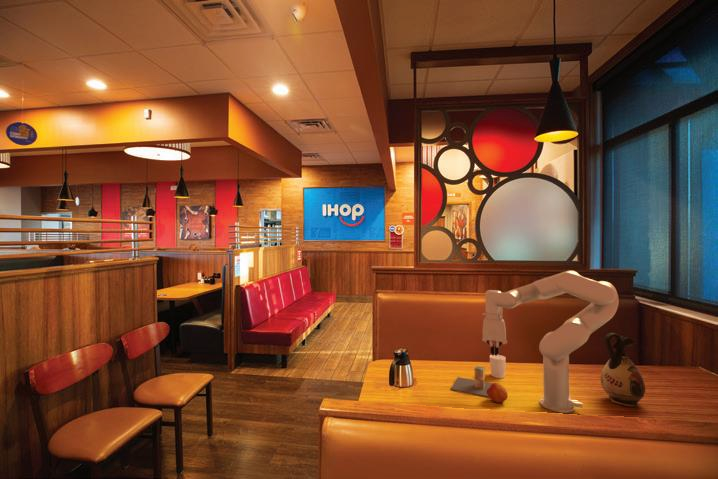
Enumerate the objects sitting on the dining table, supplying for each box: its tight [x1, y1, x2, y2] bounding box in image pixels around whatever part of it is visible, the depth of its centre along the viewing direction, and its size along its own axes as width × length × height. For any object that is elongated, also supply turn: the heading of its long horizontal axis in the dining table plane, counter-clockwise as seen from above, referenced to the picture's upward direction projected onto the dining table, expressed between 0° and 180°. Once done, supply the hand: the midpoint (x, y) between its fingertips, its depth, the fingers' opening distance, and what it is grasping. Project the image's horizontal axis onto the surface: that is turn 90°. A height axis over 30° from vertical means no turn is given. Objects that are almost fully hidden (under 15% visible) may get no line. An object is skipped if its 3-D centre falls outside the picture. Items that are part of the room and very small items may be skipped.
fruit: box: [487, 382, 508, 404], centre depth 148 cm, size 8×8×8 cm
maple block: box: [474, 365, 486, 389], centre depth 162 cm, size 4×4×9 cm
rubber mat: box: [450, 376, 494, 399], centre depth 162 cm, size 18×16×1 cm
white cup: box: [489, 354, 507, 379], centre depth 176 cm, size 8×8×10 cm
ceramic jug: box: [600, 332, 646, 408], centre depth 147 cm, size 17×15×30 cm
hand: (494, 354), depth 158 cm, fingers closed
